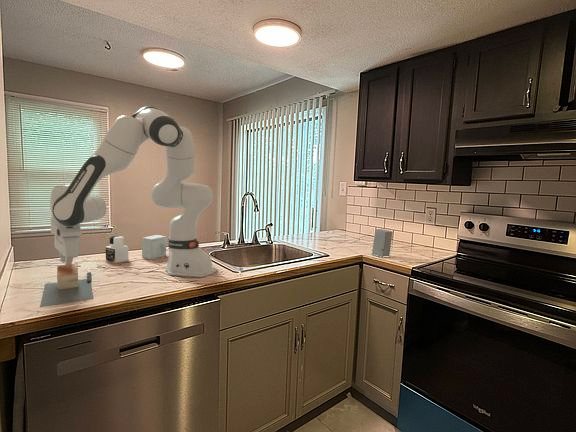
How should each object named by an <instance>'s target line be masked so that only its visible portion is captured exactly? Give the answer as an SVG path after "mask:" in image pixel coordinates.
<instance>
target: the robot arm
mask: <svg viewBox="0 0 576 432" xmlns="http://www.w3.org/2000/svg"><path fill="white" fill-rule="evenodd" d="M147 140H152V141H153V142H154V143H155V144H156V145H160V146H163V147H165V154H166V171H165V174H164V176H163V178H162V179H161V180H159V182H158V183H155V185H154V186H153V187H152V189H151V193H150V195H151V197H150V198H151V200H152V202H153V203H154V205H156V206H158V207H164V208H170V209H171V208H173V209H174V208H178V209H179V208H180V209H184V212H183V213H181V214H179V215H177V216H175V217H173V218H172V219H171V220H170V222H169V238H168V243H167V244H168V256H167V257H168V258H167V264H166V267H165V272H167V275H169V276H178V277H180V276H182V277H197V278H203V277H207V276H211V275H212V274H215V273H216V272H217V271H218V267H217V266H214V265H213V262H212V258H211V256H210V254H208V253H206V251H204V249H202V248H201V247H200V245H199V244H201V240H197V238H196V231H197V223H198V219H199V216H200V215H201V213H203V211H204V210H206V208H208V207H210V205H211V204H212V203H213V200H214V194H213V190H212V188H211V187H210V186H209V185H205V184H201V183H194V182H193V183H191V182H189V183H188V182H182V181H184V180H186V179H189V178H190V177H191V176H192V175H194V173H195V172H196V156H195V153H196V151H195V145H194V144H195V143H194V138H193V134H192V132H191V130H190V129H188V128H187V127H185V126H181V125H180V126H179V124H178V123H177V122H176V120H175V119H174V118H172V117H171V116H170V115H169V114H168V113H166V112H164V111H162V110H160V109H159V108H157V107H155V106H144V107H141V108H139V110H137V111H136V112H135V113H133V114H132V115H131V116H129V115H121V116H118V117H117V118H116V119H115V121H114V122H113V123H112V124H111V126H110V127H109V129H108V130H107V132H106V134H105V135H104V137H103V139H102V141H101V143H100V144H99V146H98V147H97V149H96V150H95V152H93V154H92V155H91V156H90V157H89V158H88V159H87V160H86V161H85V162H84V164H83V165H82V166H81V168H80V169H79V170H78V172H77V173H76V175H75V177H74V178H73V179H72V181H71V183H70V184H62V185H61V184H60V185H59V184H58V185H56V186H54V187H53V188H52V189H51V192H50V200H49V202H50V212H51V218H50V234H52V235H54V241H53V242H54V248H55V249H56V250H57V251H58V253H59V257H60V260H59V261H60V263H62V264H64V265H72V264H73V260H74V259H75V258H78V257H79V255H80V248H81V247H80V246H81V236H83V231H82V228H81V224H84V223H89V222H93V221H94V222H95V221H98V220H100V219H102V218H103V217H104V216H105V215H106V213H107V204H106V202H105V200H104V199H103V198H102V197H100V196H98V195H95V194H91V193H92V192H93V190H94V189H95V187H96V186H97V185H98V183H99V182H100V181H102V179H103V178H105V177H107V176H109V175H112V174H115V173H118V172H120V171H124V170H125V169H127V168H128V167H129V166H130V165H131V163H132V162H133V161H134V159H135V157H136V155H137V153H138V151H139V149H140V146H141V145H142V144H143V143H144V142H145V141H147Z"/></svg>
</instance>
